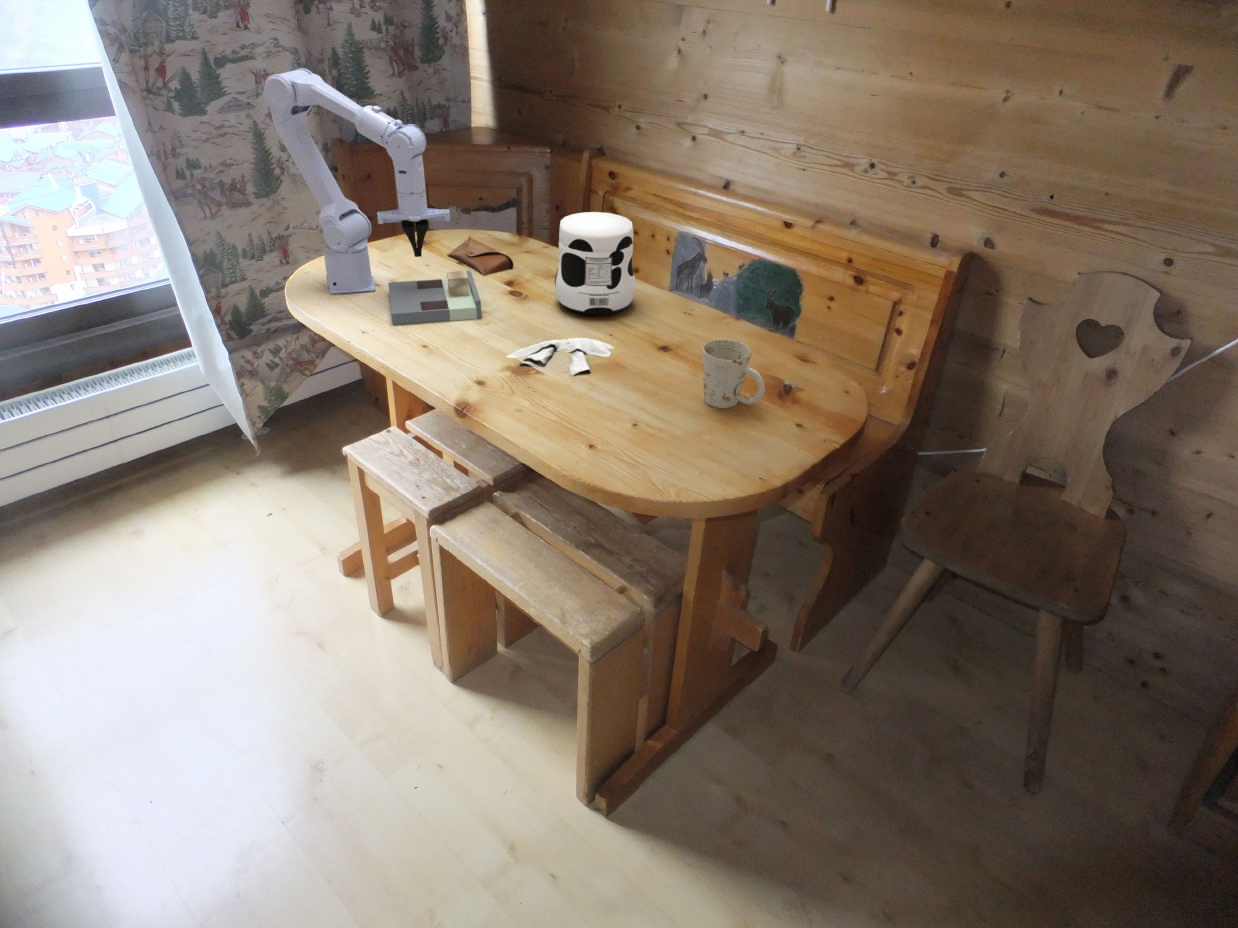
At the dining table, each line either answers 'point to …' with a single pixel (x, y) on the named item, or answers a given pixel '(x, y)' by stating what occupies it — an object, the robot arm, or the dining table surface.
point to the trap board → (432, 302)
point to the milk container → (595, 263)
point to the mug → (727, 373)
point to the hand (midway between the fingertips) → (418, 255)
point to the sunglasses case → (481, 257)
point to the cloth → (576, 344)
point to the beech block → (458, 283)
